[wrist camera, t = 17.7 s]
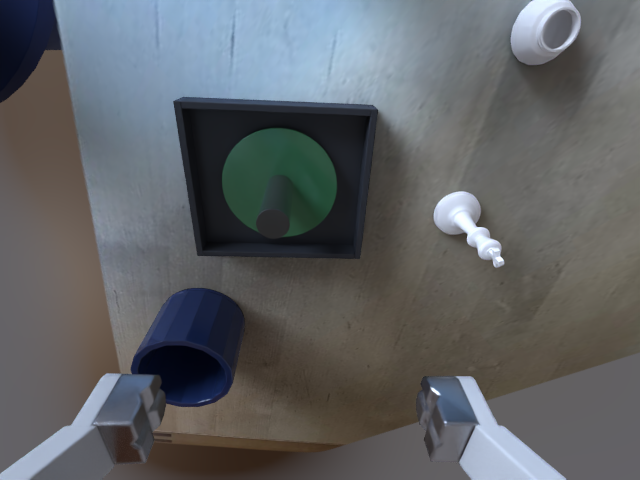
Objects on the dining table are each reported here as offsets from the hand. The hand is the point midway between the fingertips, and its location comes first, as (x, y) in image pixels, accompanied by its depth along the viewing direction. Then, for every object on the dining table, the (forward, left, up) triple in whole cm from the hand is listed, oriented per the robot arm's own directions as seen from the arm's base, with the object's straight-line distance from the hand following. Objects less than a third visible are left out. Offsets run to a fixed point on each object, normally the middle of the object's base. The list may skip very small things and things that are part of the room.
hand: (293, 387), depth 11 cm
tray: (-2, -3, -26) cm, 26 cm away
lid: (-2, -3, -25) cm, 25 cm away
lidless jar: (+20, +11, -26) cm, 35 cm away
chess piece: (+17, -6, -26) cm, 32 cm away
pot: (-12, -22, -26) cm, 36 cm away
